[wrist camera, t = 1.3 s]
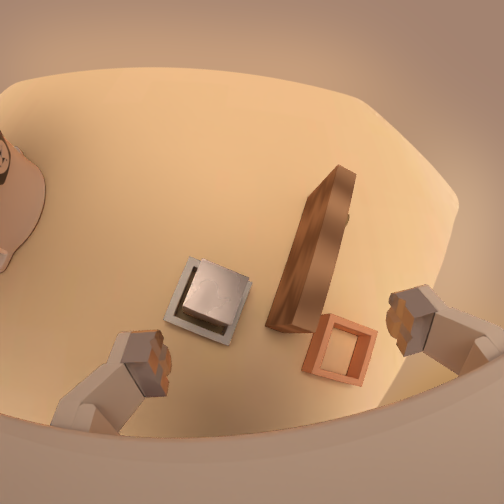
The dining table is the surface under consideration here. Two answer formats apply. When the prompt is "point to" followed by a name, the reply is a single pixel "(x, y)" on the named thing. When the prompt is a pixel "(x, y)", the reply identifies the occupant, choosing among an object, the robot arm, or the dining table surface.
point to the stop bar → (215, 294)
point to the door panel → (313, 256)
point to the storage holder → (170, 317)
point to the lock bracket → (359, 356)
